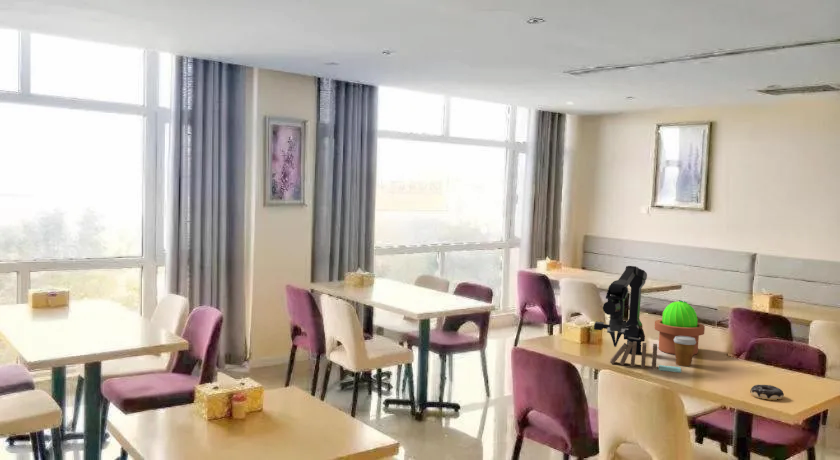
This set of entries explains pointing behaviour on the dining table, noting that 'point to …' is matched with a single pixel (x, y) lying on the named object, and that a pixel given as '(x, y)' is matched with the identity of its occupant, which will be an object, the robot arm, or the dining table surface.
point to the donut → (767, 392)
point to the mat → (669, 368)
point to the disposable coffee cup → (684, 350)
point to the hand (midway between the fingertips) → (615, 346)
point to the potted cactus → (678, 326)
